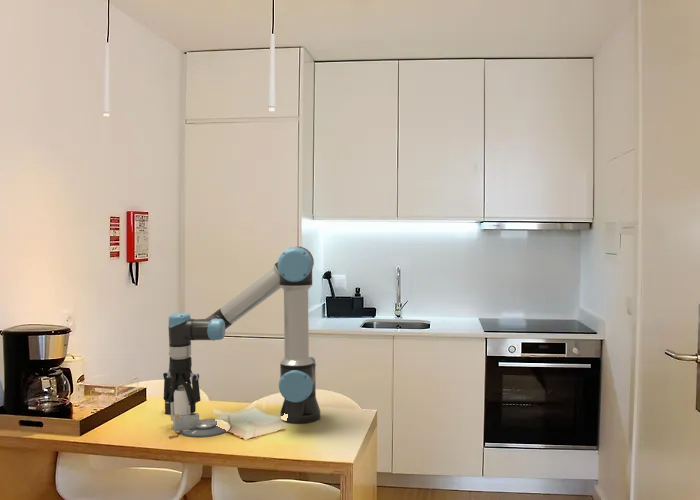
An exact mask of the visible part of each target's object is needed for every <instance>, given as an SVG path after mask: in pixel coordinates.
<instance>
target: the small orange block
mask: <svg viewBox="0 0 700 500" xmlns="http://www.w3.org/2000/svg"><path fill="white" fill-rule="evenodd" d="M178 437H179V434H178V433H173V434H170V435H168V439H170V440H171V439H174V438H178Z"/></svg>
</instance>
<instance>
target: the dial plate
mask: <svg viewBox="0 0 700 500" xmlns="http://www.w3.org/2000/svg"><path fill="white" fill-rule="evenodd" d="M206 419H207V418H204V419H201V420H206ZM209 419H210V420H215V419H216V418H209ZM225 432H226V430H225V429H222V428H220V427H218V426H215V427H213V428H209V429H197V428H194V429H188V430H182V431H178V433H179V434H181V436H184V437H187V438H210V437H211V438H212V437H216V436H220V435H224V434H226V433H227V432H226V433H225Z"/></svg>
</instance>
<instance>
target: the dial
mask: <svg viewBox="0 0 700 500" xmlns="http://www.w3.org/2000/svg"><path fill="white" fill-rule="evenodd" d="M205 419H206V420H202V419H200V413H198V412H194V413H192V414H186V415H178V414H175V415H173V421H172V424H173V428H172V429H173V431H174V432H179V431H182V430H188V429H194V428H197V429H209V428H213V427H215V426H216V425H217V421H215V420H210V419H211V418H205Z"/></svg>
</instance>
